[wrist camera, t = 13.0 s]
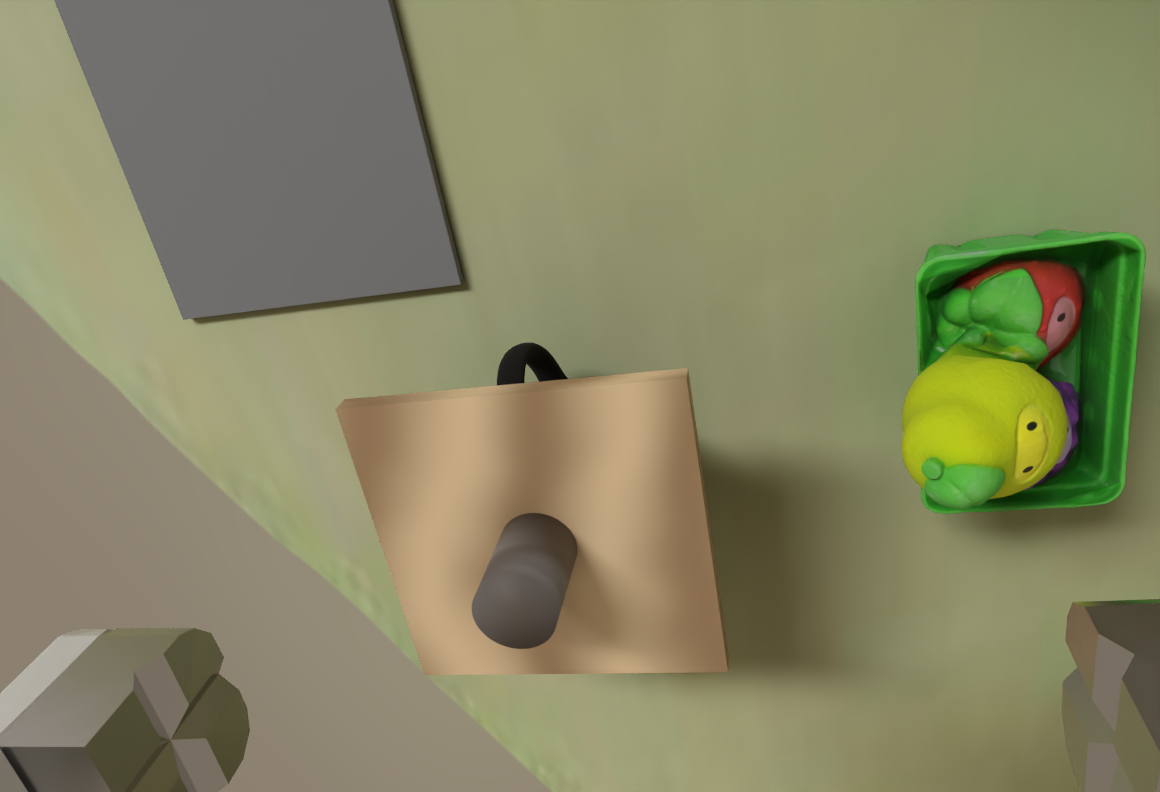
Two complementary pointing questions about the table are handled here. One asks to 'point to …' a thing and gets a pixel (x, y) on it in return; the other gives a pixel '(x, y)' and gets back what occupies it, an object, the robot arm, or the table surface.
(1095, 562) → the table surface
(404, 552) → the lid
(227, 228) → the mat
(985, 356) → the fruit basket
